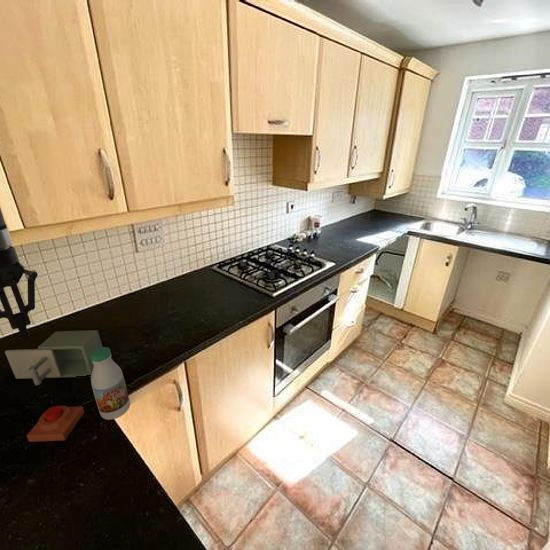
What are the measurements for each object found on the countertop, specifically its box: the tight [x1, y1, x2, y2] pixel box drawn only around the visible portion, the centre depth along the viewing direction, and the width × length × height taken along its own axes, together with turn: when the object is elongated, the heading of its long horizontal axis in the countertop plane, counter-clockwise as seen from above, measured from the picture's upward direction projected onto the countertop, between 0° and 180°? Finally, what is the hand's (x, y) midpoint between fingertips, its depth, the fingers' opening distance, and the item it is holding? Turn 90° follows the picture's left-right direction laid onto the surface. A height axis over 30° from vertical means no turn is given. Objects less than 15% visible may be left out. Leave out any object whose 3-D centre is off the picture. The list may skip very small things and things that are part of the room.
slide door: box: [4, 348, 62, 386], centre depth 92 cm, size 14×7×10 cm, turn 92°
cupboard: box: [37, 329, 103, 379], centre depth 100 cm, size 14×9×12 cm, turn 92°
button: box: [43, 405, 62, 422], centre depth 79 cm, size 4×4×2 cm
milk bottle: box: [90, 346, 131, 421], centre depth 82 cm, size 8×8×20 cm
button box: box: [26, 405, 85, 443], centre depth 80 cm, size 9×9×4 cm
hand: (26, 337), depth 77 cm, fingers closed
